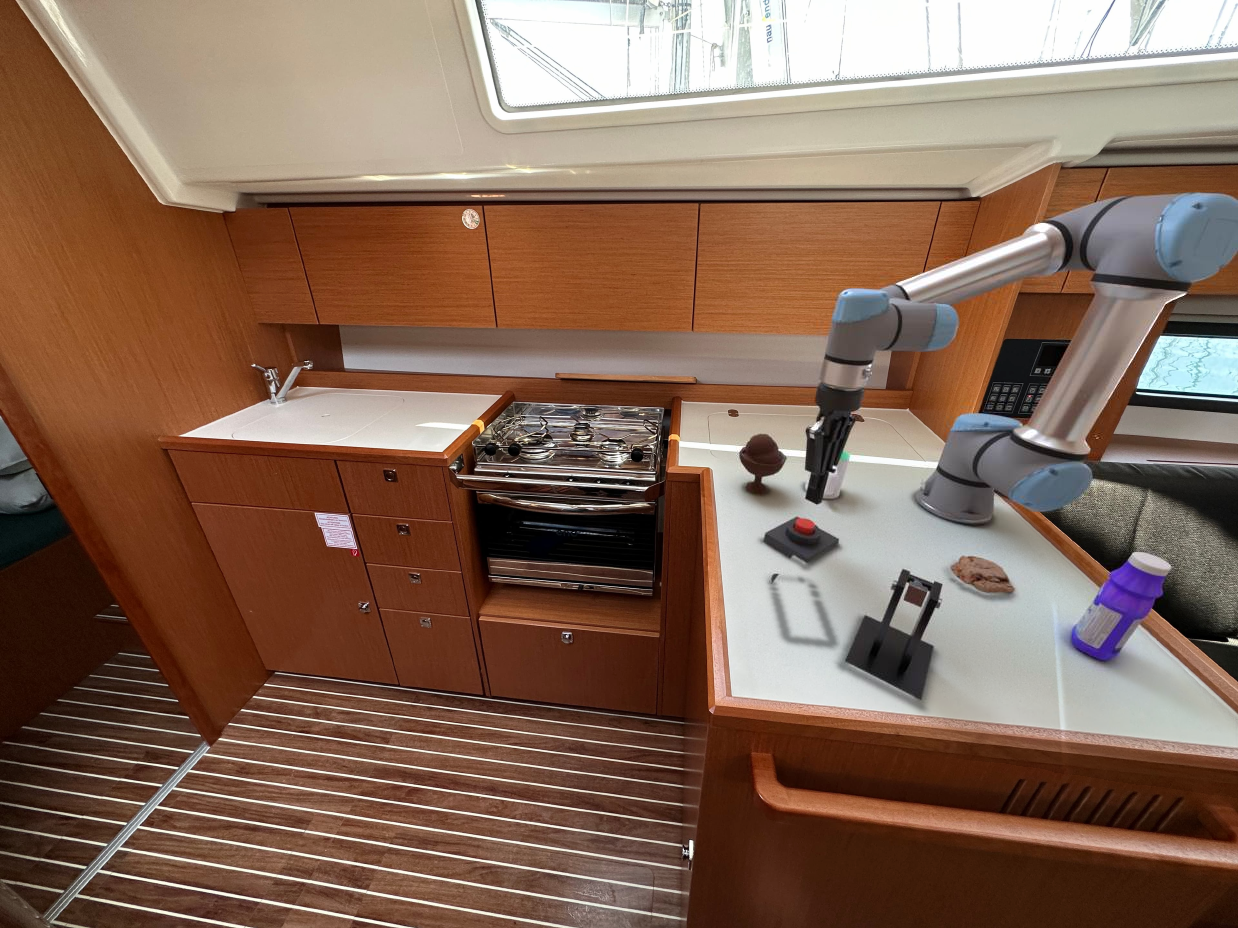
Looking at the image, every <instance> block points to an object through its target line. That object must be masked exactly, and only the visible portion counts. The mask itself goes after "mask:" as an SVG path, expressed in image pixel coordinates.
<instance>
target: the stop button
mask: <svg viewBox="0 0 1238 928" xmlns="http://www.w3.org/2000/svg"><path fill="white" fill-rule="evenodd" d="M815 525H816V524H815V522H814V521H812V520H811V519H809V518H805V517H799V519H797V520H796V524H795V528H794V529H795V530H796V531H797V532H799V533H801V534H805V535H811V534H813V531H814V527H815Z"/></svg>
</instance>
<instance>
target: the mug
mask: <svg viewBox="0 0 1238 928" xmlns="http://www.w3.org/2000/svg"><path fill="white" fill-rule="evenodd" d="M850 458H851V455H850V453H849V452H847V451H846V450H843V452H842V455H841V457H840V460H839V463H838V465H837V466H834V465H833V469H836V471H835V473H831V472H829V475H828V479H827V483H826V487H825V491H824V495H823V499H826V500H828V499H829V500H831V499H836V498H839V496H840V493H841V489H842V486H843V483H844V478H845V476H846V472H847V468H848V465H849V463H850ZM810 475H811V472H808V471H807V476H806V481H805V485H804V489H805V491H806V492H807V488H808V484H809V479H810Z"/></svg>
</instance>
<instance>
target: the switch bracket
mask: <svg viewBox="0 0 1238 928" xmlns="http://www.w3.org/2000/svg"><path fill="white" fill-rule="evenodd" d="M901 571H902V572H901ZM901 571H900V573H901V574H900V573H899V576H900V577H899V576H898V579H897V580H896V579H893V581H892V583H891V586H890V590H892V591H893V592H892V594H891V597H890V599H889V602H888V605H887V607H886V609H885V612H884V615H883V617H882V620H881V621H880V620H877V619H876V618H874V617H871V616H869V615H868V614H864V616H863V618H862V621H861V623H860V625H859V628H858V630H857V633H856V634H855V637H854V639H853V641H852V643H851V646H850V648H849V651H848V653H847V655H846V657H845V659H844V662H846V663H848V664H849V665H852V666H853V667H855V668H858V669H859V670H861V671H863V672H865V673H867V674H868V675H871V676H872V677H875V678H877V679H879V680H881V681H883V682H885V683H887V684H888V685H891V686H892V687H895V688H896V689H898V690H900V691H902V692H905V693H906V694H908V695H910V696H912V697H914V698H915V699H918V700H920V701H922V698H923V695H924V690H925V686H926V681H927V677H928V672H929V667H930V663H931V658H932V655H933V651H934V645H933V644H931V643H928V642H926V641H924V640H922V638H923V636H924V634H925V631H926V629H927V627H928V625H929V622H930V621H931V619H932V617H933V615H934V612H935V610H936V609H940V607H941V604H942V602H943V598H940V597H941V594H942V593H941V592H942V589H943V583H941V582H938V581H936V580H934V581H933V582H932V583H933V585H932V588H931V590H930V592H929V591H928V592H929V593H927V594H928V595H927V596H926V598H925V600H924V602H923V605H922V607H921V610H920V613H919V615H918V617H917V620H916V621H915V624H914V626H913V628H912V630H911V633H910V634H909V633H906V632H905V631H902V630H899V629H897V628H896V627H893V626H891V623H892V620H893V617H894V616H895V613H896V611H897V608H898V605H899V603H900V601H901V598H902V596H903V594H904V590H905V588H906V586H907V584H908V583H907V580H908V577H909V574H911V571H910V570H907V569H905V568H902V570H901Z"/></svg>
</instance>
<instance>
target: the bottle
mask: <svg viewBox="0 0 1238 928" xmlns="http://www.w3.org/2000/svg"><path fill="white" fill-rule="evenodd" d="M1171 570H1172V566H1171V564H1170V563H1169V562H1168V561H1166V560H1165V559H1163V558H1160V557H1159V556H1157V555H1153V554H1151V553H1147V552H1142V551H1134V552H1132V553H1131V555H1130V556H1129V558H1128V559H1127V560H1126V562H1125V563H1124V564H1123V565H1121V567H1119V568H1117V569H1115V570H1112V571H1110V572H1109V574H1108V577H1109V579H1108V580H1106V581H1104V583H1103V584H1102V585H1101V587H1099V589H1098V591H1097V594H1096V596H1095V597H1094V599H1093V600H1092V602H1091V603H1090V605H1089V606H1088V607H1087V609H1086V610H1085V612H1084V613H1083V614H1082V616H1081V617H1080V618H1079V620H1078V622H1077V623H1076V624H1075V625H1074V626H1073V627H1072V630H1071V634H1070V641H1071V643H1072V645H1073V646H1074V647H1075V648H1077V649H1078V650H1079V651H1081V652H1083V653H1085V654H1087V655H1089V656H1090V657H1093V658H1096V659H1098V660H1101V661H1109V660H1112V659H1115V658H1116V657H1117V656H1118V655H1119V654H1120V653H1121V651H1122V649H1123V647H1124V646H1125V645H1126V644H1127V642H1128V641H1129V640H1130V638H1131V636H1132V635H1133V634H1134V632H1135V631H1137V630H1136V629H1138V627H1139V626H1140V624H1141V623H1142V622H1143V620H1144V619H1145V618H1146V617H1147V616H1148V615H1149V614H1150V612H1151V610H1152V609H1153V606H1154V604H1155V600H1156V599H1157V598H1160V597H1162V596H1163V594H1164V591H1163V583H1164V581H1165V579H1166V578H1167V577H1166V576H1168V574H1169V572H1170V571H1171Z"/></svg>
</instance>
